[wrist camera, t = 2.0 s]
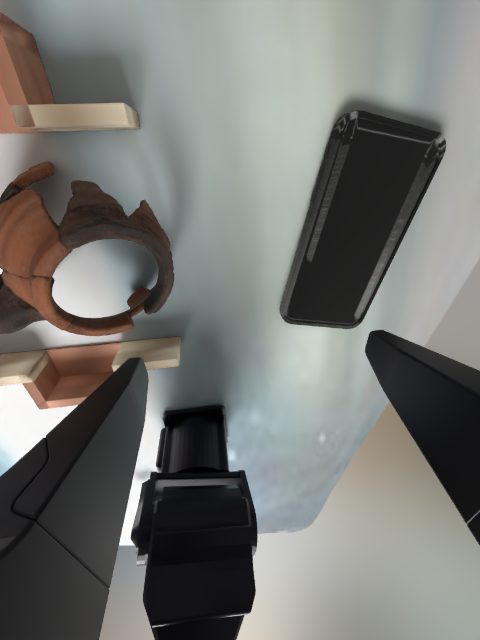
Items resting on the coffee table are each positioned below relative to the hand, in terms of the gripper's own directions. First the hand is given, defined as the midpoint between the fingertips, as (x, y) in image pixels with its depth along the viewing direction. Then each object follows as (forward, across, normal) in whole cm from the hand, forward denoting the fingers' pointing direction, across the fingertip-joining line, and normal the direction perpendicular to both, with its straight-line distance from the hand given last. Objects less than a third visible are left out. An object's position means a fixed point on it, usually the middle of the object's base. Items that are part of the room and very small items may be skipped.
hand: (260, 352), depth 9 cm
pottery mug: (+12, +10, -1) cm, 16 cm away
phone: (+13, -9, 0) cm, 16 cm away
